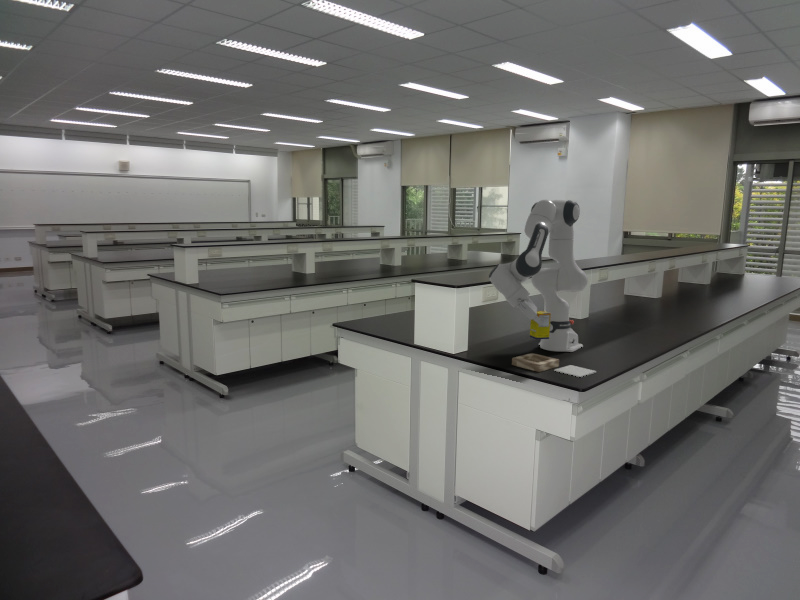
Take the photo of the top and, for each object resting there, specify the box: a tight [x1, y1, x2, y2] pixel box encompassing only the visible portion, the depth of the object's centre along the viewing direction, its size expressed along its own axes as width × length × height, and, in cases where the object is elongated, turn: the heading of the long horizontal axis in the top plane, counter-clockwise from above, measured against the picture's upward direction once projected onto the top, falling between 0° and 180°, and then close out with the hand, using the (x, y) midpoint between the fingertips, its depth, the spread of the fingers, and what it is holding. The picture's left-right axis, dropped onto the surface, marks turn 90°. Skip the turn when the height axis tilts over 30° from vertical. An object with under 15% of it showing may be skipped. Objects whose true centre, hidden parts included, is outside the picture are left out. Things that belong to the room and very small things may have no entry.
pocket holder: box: [511, 352, 560, 373], centre depth 228 cm, size 14×14×3 cm
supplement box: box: [529, 310, 551, 340], centre depth 220 cm, size 6×6×11 cm
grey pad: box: [553, 364, 597, 378], centre depth 219 cm, size 12×12×1 cm
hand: (541, 322), depth 220 cm, fingers closed on supplement box, 8 cm apart
